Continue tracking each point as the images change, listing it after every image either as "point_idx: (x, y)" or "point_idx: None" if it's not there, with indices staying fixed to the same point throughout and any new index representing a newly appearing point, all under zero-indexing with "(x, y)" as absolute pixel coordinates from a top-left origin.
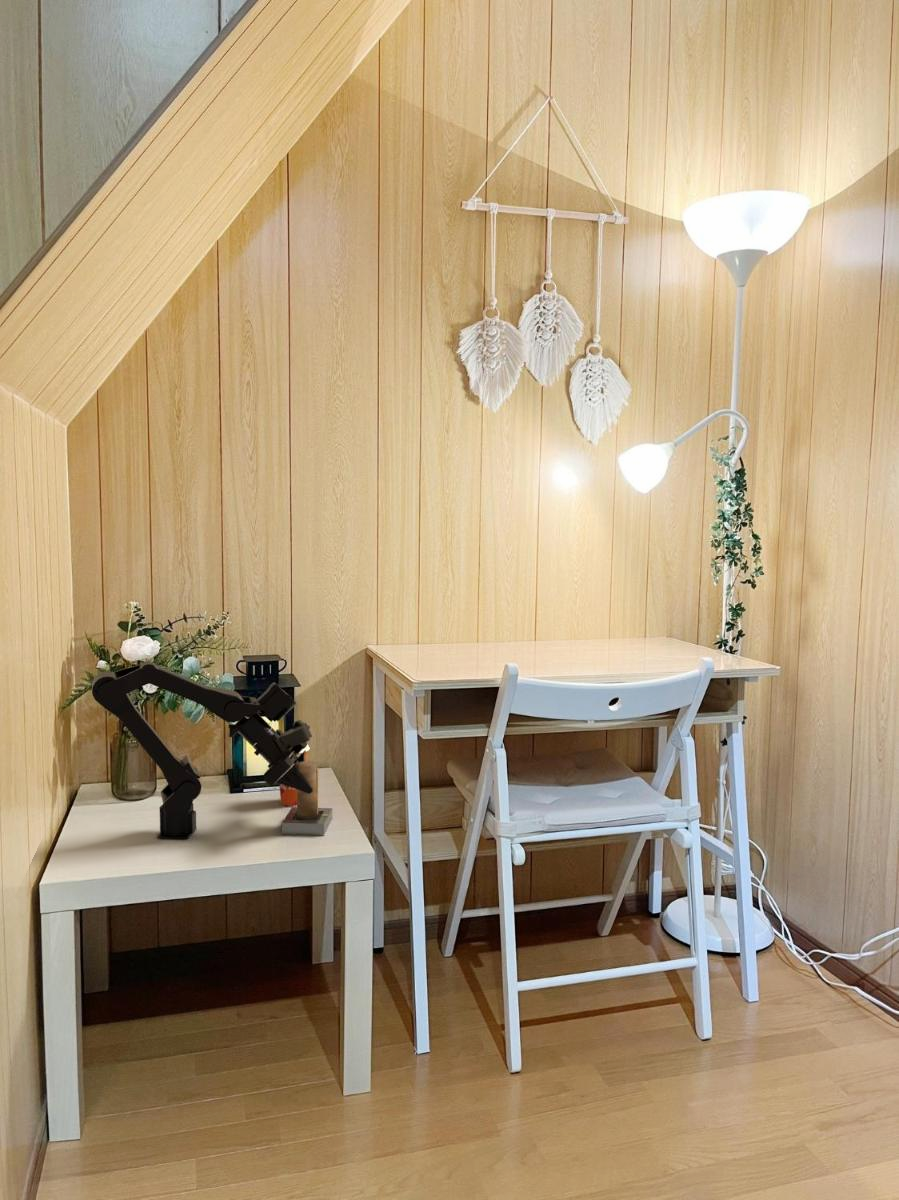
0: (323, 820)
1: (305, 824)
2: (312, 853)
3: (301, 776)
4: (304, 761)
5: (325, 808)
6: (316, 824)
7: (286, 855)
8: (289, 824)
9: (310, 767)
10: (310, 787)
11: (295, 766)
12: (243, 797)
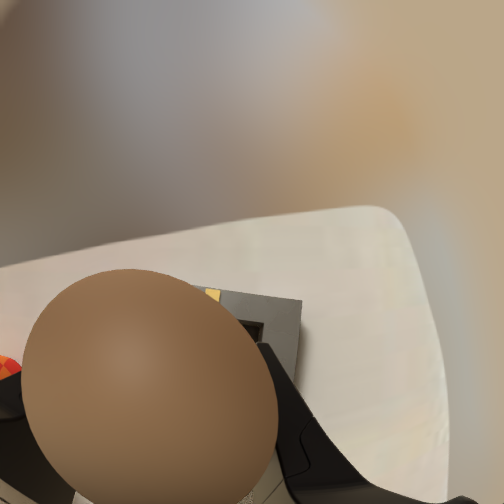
0: (263, 305)
1: (293, 370)
2: (415, 325)
3: (319, 438)
4: (32, 423)
5: None
6: (299, 329)
7: (425, 388)
8: None
9: (264, 363)
10: (274, 356)
11: (462, 497)
12: None
